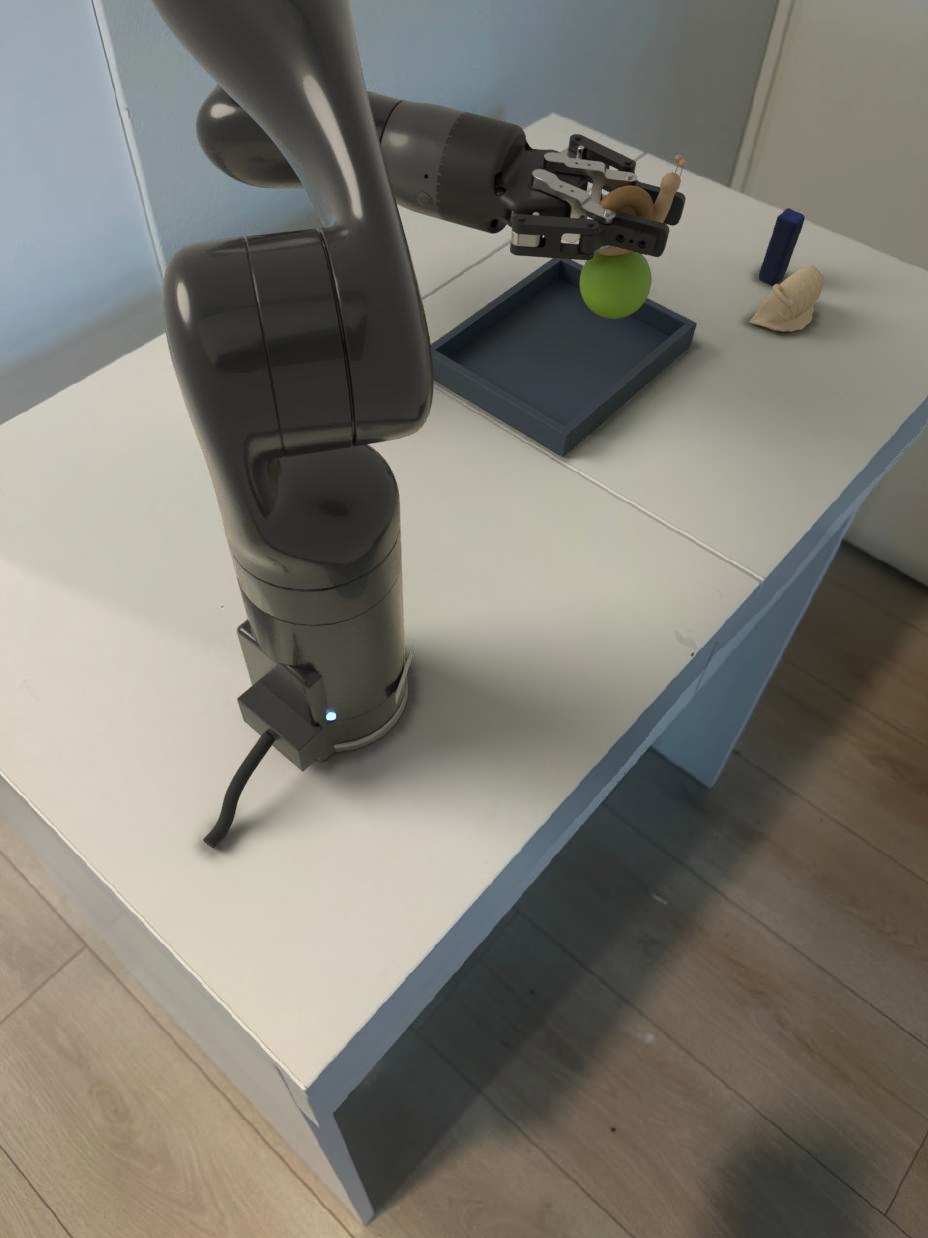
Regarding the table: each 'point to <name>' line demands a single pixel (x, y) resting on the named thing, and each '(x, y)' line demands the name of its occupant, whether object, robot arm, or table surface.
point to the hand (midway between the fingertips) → (673, 225)
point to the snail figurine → (625, 253)
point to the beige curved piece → (791, 301)
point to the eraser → (781, 246)
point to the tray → (556, 356)
